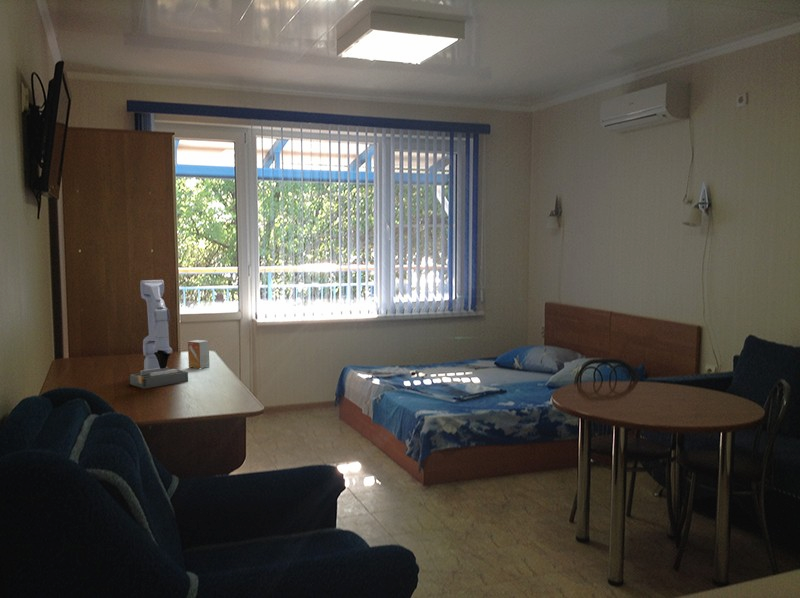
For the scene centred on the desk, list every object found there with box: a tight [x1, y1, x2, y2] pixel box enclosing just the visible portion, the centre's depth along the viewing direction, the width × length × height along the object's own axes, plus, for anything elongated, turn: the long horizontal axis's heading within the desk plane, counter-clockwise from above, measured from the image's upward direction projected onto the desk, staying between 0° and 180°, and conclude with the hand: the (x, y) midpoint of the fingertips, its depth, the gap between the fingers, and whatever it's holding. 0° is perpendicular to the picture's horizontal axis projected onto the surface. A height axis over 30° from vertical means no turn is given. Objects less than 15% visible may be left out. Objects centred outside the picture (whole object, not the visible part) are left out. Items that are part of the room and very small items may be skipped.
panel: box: [149, 368, 178, 377], centre depth 291 cm, size 12×2×5 cm, turn 134°
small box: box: [187, 339, 210, 369], centre depth 331 cm, size 8×6×13 cm
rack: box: [129, 366, 189, 389], centre depth 294 cm, size 14×20×6 cm, turn 135°
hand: (163, 368), depth 291 cm, fingers closed
